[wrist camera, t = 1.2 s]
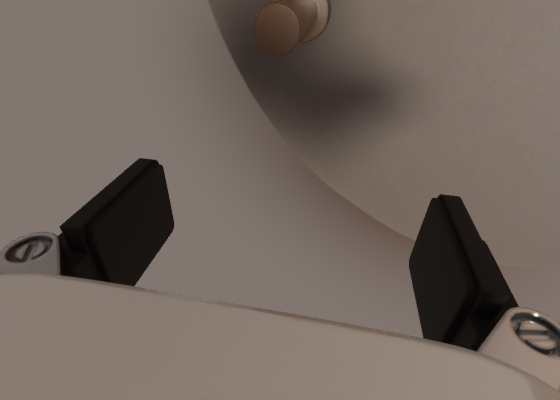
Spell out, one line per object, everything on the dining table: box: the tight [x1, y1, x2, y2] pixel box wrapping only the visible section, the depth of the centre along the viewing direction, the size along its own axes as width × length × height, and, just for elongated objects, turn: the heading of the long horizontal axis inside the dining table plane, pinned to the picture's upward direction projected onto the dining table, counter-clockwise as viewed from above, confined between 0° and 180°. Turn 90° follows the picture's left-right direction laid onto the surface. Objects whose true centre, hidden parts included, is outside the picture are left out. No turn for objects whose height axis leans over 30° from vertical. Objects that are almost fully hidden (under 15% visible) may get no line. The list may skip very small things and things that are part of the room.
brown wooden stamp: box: [254, 0, 331, 56], centre depth 23 cm, size 4×4×14 cm
